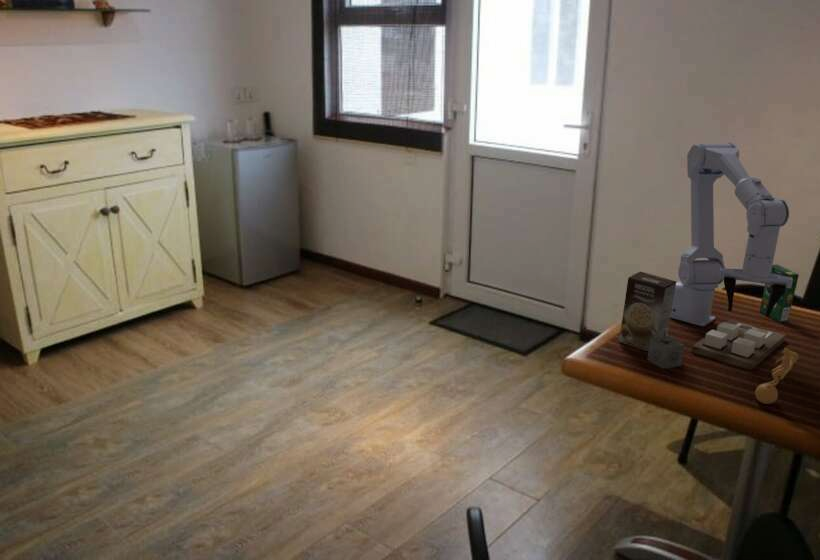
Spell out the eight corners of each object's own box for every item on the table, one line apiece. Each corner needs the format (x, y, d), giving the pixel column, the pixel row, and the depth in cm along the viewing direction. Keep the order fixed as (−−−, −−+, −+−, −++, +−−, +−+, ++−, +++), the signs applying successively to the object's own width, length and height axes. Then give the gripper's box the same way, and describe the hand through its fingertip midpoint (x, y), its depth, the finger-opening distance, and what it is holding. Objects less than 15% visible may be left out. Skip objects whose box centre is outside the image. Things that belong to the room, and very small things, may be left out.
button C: (704, 344, 164) (705, 333, 163) (710, 340, 166) (712, 329, 166) (720, 349, 162) (722, 338, 161) (726, 344, 164) (728, 334, 163)
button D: (731, 352, 160) (733, 341, 159) (736, 347, 163) (738, 337, 162) (747, 357, 158) (750, 346, 157) (753, 352, 160) (755, 341, 160)
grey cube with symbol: (647, 360, 160) (650, 339, 158) (665, 356, 161) (668, 336, 160) (663, 369, 155) (666, 348, 154) (681, 366, 157) (684, 344, 155)
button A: (715, 336, 169) (717, 325, 168) (721, 331, 171) (723, 321, 171) (731, 340, 167) (733, 330, 166) (737, 336, 169) (739, 326, 168)
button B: (742, 343, 165) (744, 333, 164) (747, 339, 168) (749, 328, 167) (758, 348, 163) (760, 337, 162) (764, 343, 165) (766, 333, 164)
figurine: (752, 391, 146) (763, 336, 142) (785, 397, 144) (797, 342, 140) (754, 410, 139) (766, 353, 135) (789, 416, 137) (802, 358, 133)
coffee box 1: (617, 342, 168) (626, 276, 163) (630, 334, 173) (639, 270, 168) (654, 354, 162) (664, 286, 157) (667, 346, 167) (677, 280, 162)
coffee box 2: (789, 322, 184) (800, 273, 179) (779, 323, 183) (790, 274, 179) (768, 311, 191) (777, 263, 187) (758, 311, 190) (768, 264, 186)
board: (691, 352, 164) (692, 344, 163) (728, 325, 180) (730, 318, 180) (750, 370, 156) (752, 362, 155) (784, 340, 172) (786, 333, 171)
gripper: (723, 254, 157) (713, 313, 161) (798, 264, 152) (785, 324, 156) (723, 246, 163) (713, 303, 167) (795, 255, 158) (783, 313, 162)
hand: (748, 312), depth 162 cm, fingers open, 7 cm apart
